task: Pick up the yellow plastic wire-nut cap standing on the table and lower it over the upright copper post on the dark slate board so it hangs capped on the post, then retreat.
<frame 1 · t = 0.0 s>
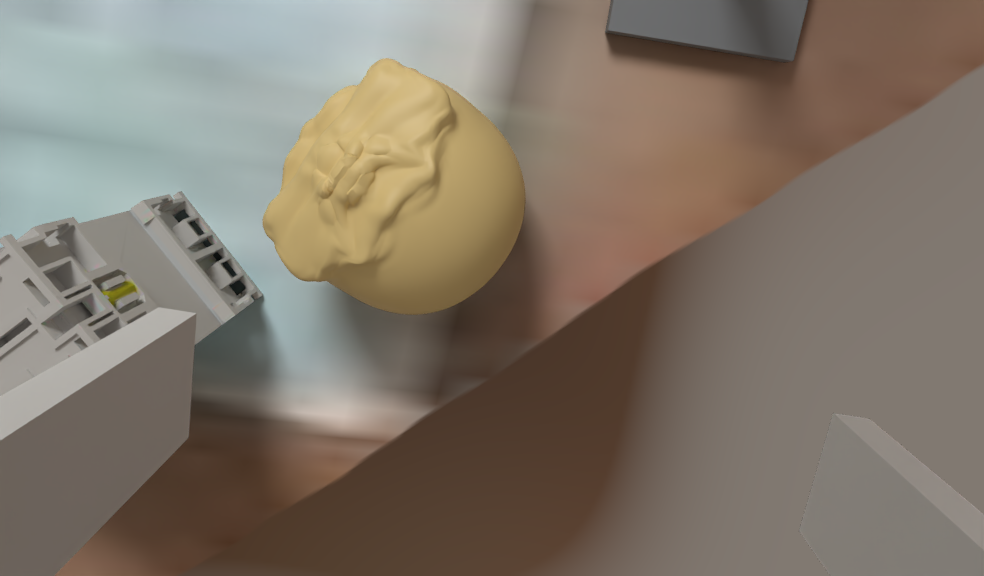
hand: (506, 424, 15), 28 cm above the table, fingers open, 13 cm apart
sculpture: (417, 187, 42), on the table
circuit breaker: (134, 309, 44), on the table
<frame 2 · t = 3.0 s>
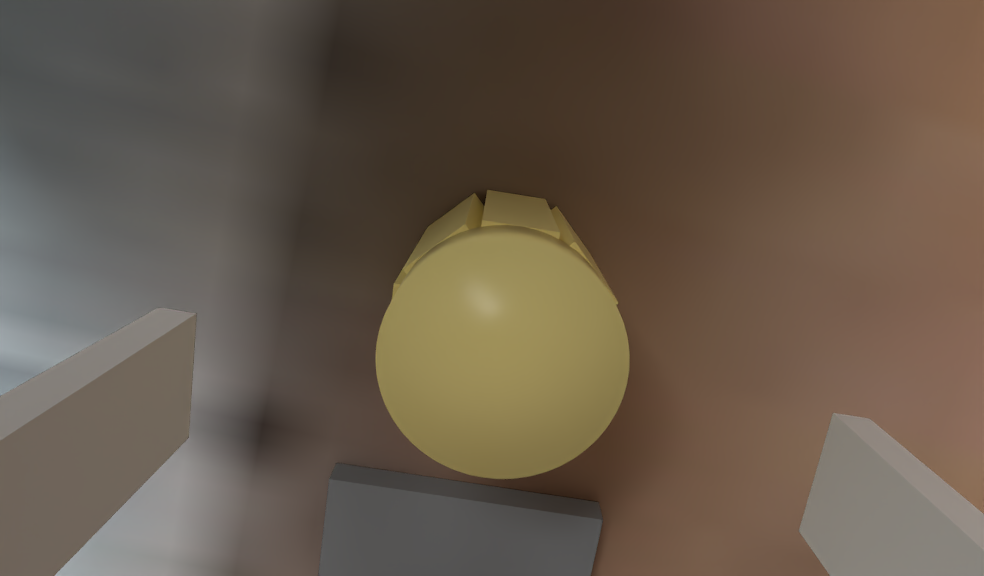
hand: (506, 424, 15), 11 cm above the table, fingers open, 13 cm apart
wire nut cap: (502, 279, 25), on the table
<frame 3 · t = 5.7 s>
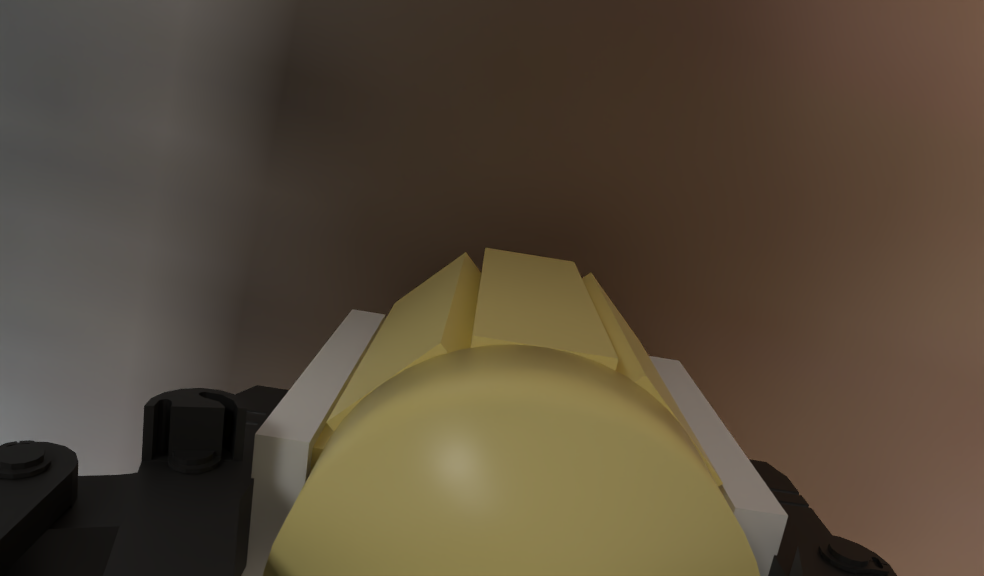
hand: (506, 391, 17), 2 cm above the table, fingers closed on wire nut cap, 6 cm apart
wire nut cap: (507, 379, 17), point 2 cm above the table, touching gripper
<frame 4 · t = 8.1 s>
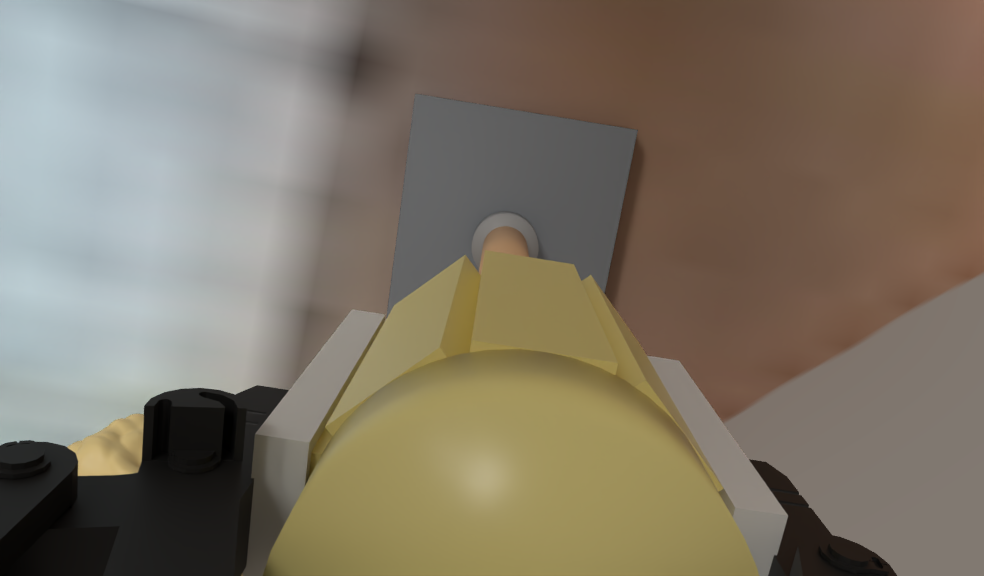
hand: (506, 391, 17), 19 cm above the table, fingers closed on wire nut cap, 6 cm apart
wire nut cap: (507, 382, 17), point 19 cm above the table, touching gripper
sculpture: (196, 489, 39), on the table
pigtail board: (505, 238, 35), on the table
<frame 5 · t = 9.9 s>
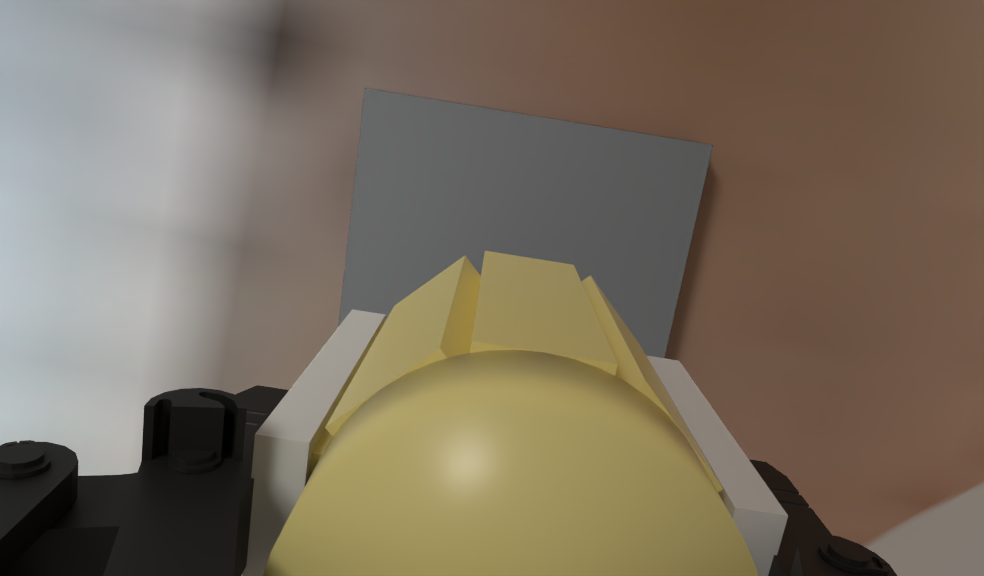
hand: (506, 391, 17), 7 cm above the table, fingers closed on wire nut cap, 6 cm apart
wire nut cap: (507, 383, 17), point 7 cm above the table, touching gripper
pigtail board: (505, 307, 23), on the table
when the fingers open (6 cm above the table, at t = 10.8 s): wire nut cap drops 2 cm, resting on pigtail board.
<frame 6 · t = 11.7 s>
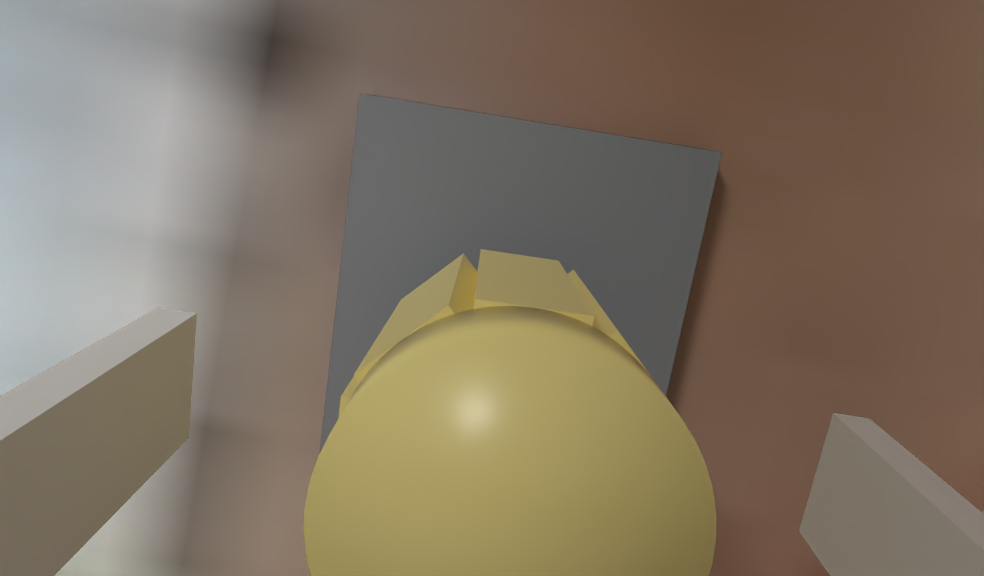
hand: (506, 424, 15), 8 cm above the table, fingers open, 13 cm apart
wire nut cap: (502, 367, 19), point 4 cm above the table, touching pigtail board
pigtail board: (506, 320, 22), on the table
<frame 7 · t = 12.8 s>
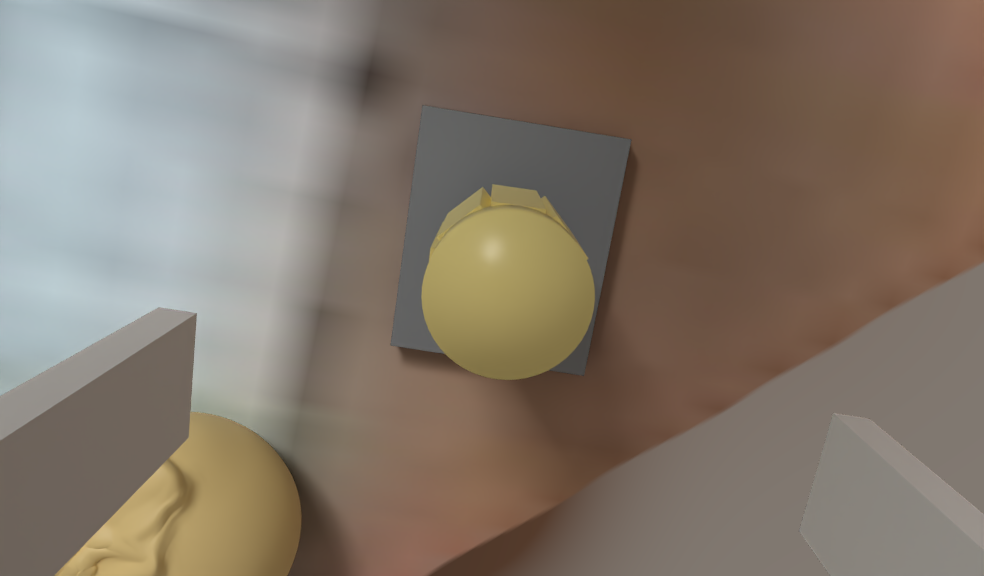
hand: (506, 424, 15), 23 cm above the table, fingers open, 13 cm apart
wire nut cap: (504, 252, 33), point 4 cm above the table, touching pigtail board
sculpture: (212, 480, 40), on the table
pigtail board: (506, 242, 37), on the table
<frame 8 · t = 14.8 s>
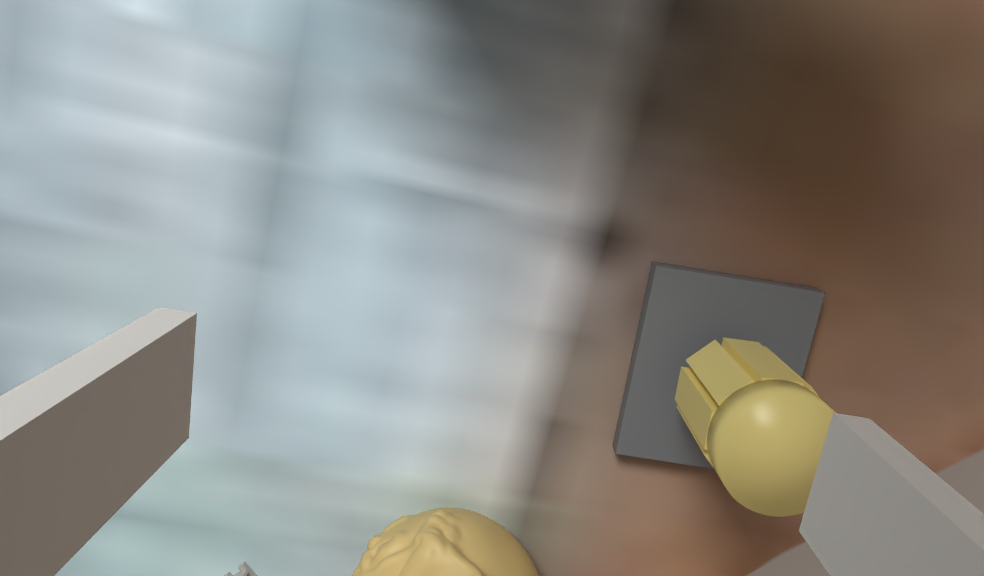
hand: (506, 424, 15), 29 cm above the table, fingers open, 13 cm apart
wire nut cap: (730, 389, 41), point 4 cm above the table, touching pigtail board
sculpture: (450, 559, 48), on the table
pigtail board: (711, 368, 45), on the table
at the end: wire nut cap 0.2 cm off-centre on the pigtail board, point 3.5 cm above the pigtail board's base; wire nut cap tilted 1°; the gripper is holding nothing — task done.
